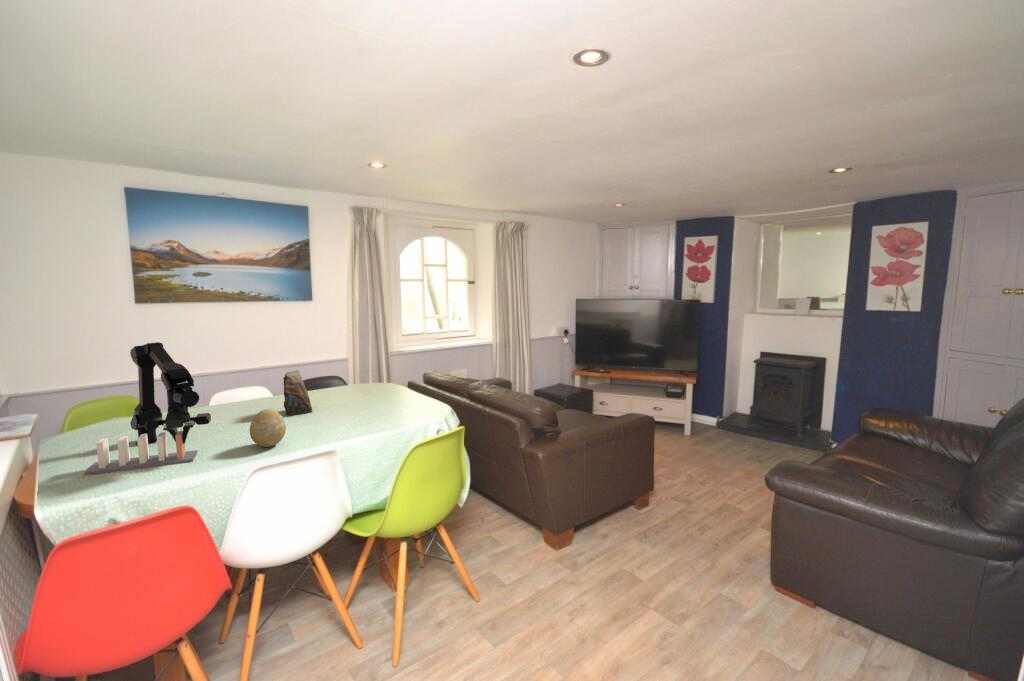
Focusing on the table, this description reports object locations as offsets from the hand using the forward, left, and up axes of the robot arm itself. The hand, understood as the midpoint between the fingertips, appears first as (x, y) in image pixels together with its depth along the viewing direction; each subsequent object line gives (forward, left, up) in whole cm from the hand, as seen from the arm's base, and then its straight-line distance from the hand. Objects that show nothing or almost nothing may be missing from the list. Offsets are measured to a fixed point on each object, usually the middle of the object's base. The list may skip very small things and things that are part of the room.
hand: (181, 443), depth 166 cm
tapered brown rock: (-47, +39, -6) cm, 61 cm away
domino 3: (0, -11, -5) cm, 12 cm away
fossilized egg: (-3, +28, -6) cm, 29 cm away
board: (0, -11, -6) cm, 12 cm away
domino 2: (0, -17, -5) cm, 17 cm away
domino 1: (0, -22, -5) cm, 22 cm away
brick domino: (+1, 0, -5) cm, 5 cm away
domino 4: (0, -6, -5) cm, 7 cm away
